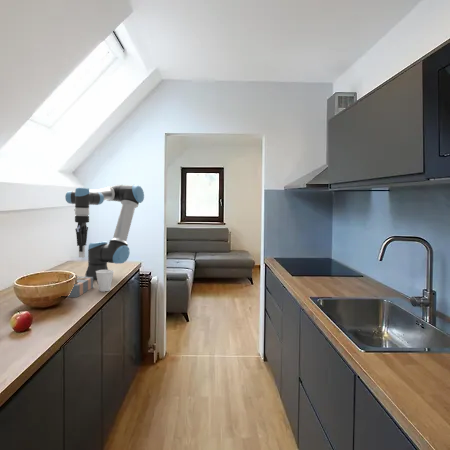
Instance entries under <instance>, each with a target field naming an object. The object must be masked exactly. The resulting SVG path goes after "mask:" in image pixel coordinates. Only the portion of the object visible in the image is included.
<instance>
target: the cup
mask: <svg viewBox="0 0 450 450" xmlns="http://www.w3.org/2000/svg"><path fill="white" fill-rule="evenodd" d="M114 272H115V270H112V269H108V270H98V271H96V275H97V279H96V280H97V287H98V288H97V289H98V291H99V292H101V293H102V292H104V293H105V291H107V292H110V291H111V288H112V281H113V278H114V277H113V276H114Z"/></svg>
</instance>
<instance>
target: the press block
mask: <svg viewBox="0 0 450 450" xmlns="http://www.w3.org/2000/svg"><path fill="white" fill-rule="evenodd" d="M78 278H85V280H78ZM92 288H94V279H93V277H85V276H78V275H77V284H74V287H73V289H72V291H71V293H70V295H69V296H68V297H67V298H78V297H80V296H82V295H83V294H85V293H86V292H88V291H90V290H91V289H92Z"/></svg>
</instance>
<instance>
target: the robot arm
mask: <svg viewBox="0 0 450 450" xmlns="http://www.w3.org/2000/svg"><path fill="white" fill-rule="evenodd" d="M144 200H145V191H144V190H143V188H142V186H141V185H138V184H117V185H115V184H114V185H111V186H106V187H104V188H99V189H98V188H97V189H90V188H89V187H76V188H75V190H70V191H69V190H68V191H66V193H65V201H66V202H67V204H71V205H75V206H74V207H75V208H74V215H75V216H74V222H75V223H77V225H76V226H77V227H76V228H75V233H76V235H75V237H76V246H78V258H85V250H86V249H85V248H86V246H87V241H88V240H87V238H88V231H89V227H88V226H87V223H90V206H91V205H93V206H94V205H95V206H98V205H102V204H103V203H104V201H107V202H119V203H121V209H120V212H119V216H118V219H117V224H116V226H115V229H114V234H113V237H112V239H110V240H109V242H108V241H96V242H90V243H89V244H88V248H87V255H88V256H87V258H88V260H87V261H88V263H87V264H88V265H87V268H86V271H85V275H84V277H93V280H97V275H96V271H98V270H109V268H108V263H110V264H116V265H117V264H120V265H121V264H124V263H125V262H127V261H128V259H129V256H130V248H129V243H128V242H127V239H128V236H129V232H130V229H131V224H132V222H133V217H134V214H135V209H136V208H138V207H139V205H140V204H141V203H143V202H144Z"/></svg>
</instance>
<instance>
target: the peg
mask: <svg viewBox="0 0 450 450" xmlns="http://www.w3.org/2000/svg"><path fill="white" fill-rule="evenodd" d="M72 275H73V274H70V275H69V276H68V280H69V279H70V278H71V277H72ZM74 275H75V276H76V278H75V284H77V277H78V275H77V274H74Z"/></svg>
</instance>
